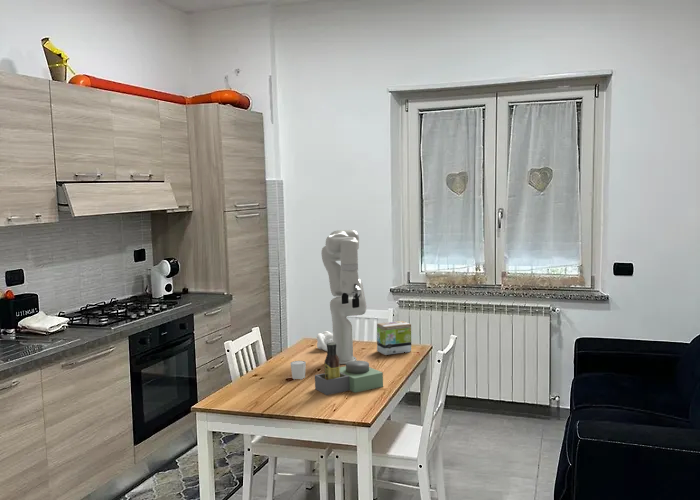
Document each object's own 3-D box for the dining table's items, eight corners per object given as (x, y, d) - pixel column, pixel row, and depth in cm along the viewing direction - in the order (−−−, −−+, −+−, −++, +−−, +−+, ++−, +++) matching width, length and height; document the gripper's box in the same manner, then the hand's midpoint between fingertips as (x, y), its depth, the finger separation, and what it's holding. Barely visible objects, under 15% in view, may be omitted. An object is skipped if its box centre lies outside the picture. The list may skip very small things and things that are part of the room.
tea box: (385, 355, 321) (384, 326, 320) (376, 351, 330) (376, 323, 329) (412, 352, 327) (411, 323, 326) (402, 347, 336) (402, 319, 335)
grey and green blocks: (310, 386, 274) (310, 366, 274) (360, 376, 287) (360, 356, 286) (331, 397, 259) (330, 375, 258) (383, 386, 272) (382, 365, 271)
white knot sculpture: (338, 346, 344) (337, 329, 343) (339, 351, 332) (338, 334, 331) (317, 347, 343) (316, 330, 342) (317, 352, 331) (316, 335, 330)
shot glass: (308, 376, 290) (308, 360, 290) (302, 380, 284) (302, 365, 283) (294, 375, 292) (294, 360, 292) (288, 379, 286) (287, 364, 285)
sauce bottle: (325, 387, 273) (324, 341, 271) (340, 387, 273) (339, 341, 271) (324, 392, 266) (323, 345, 264) (339, 392, 266) (338, 344, 264)
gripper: (332, 265, 288) (333, 303, 290) (351, 270, 273) (352, 310, 275) (347, 264, 292) (348, 301, 294) (366, 269, 277) (367, 308, 279)
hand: (350, 305), depth 285 cm, fingers open, 9 cm apart
